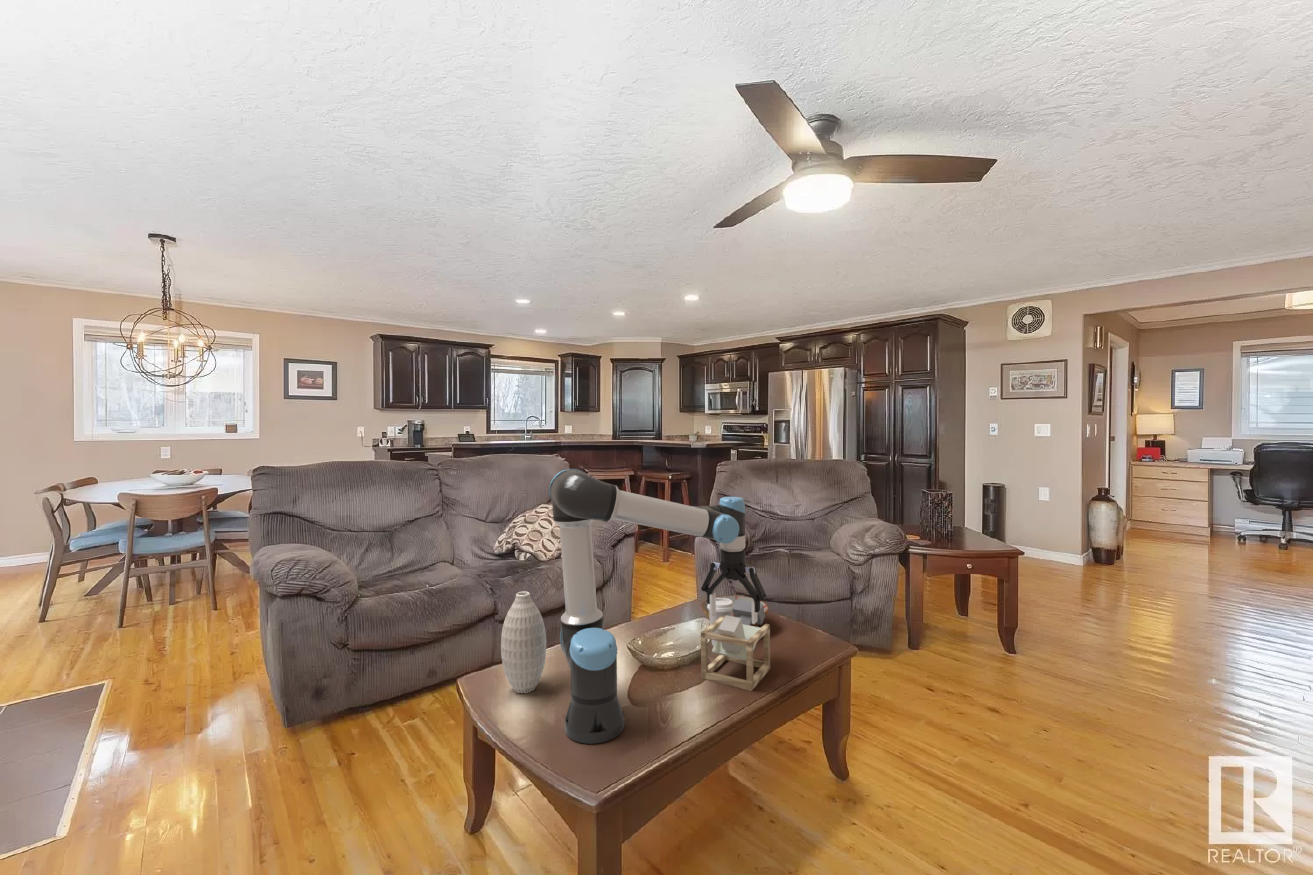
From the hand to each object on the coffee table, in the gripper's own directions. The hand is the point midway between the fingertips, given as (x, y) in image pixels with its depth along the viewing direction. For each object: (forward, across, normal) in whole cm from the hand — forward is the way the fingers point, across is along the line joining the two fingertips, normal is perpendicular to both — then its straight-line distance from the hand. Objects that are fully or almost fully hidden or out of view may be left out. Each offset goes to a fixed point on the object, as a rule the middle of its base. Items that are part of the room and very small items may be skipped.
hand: (733, 618), depth 167 cm
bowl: (+18, +15, -37) cm, 44 cm away
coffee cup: (+18, +13, -20) cm, 30 cm away
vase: (+18, +50, +37) cm, 65 cm away
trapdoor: (+8, 0, -7) cm, 11 cm away
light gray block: (+8, 0, -1) cm, 8 cm away
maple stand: (+18, 0, -2) cm, 18 cm away
